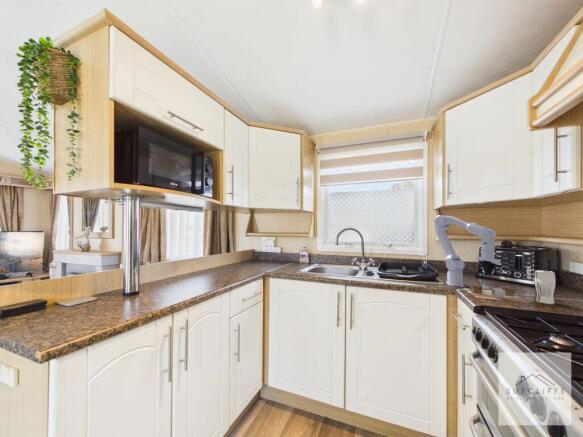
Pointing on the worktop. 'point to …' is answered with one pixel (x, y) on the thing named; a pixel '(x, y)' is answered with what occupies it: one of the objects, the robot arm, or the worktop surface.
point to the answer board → (488, 295)
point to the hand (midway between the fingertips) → (488, 275)
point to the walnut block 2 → (508, 291)
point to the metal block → (498, 293)
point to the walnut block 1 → (476, 288)
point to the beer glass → (545, 286)
